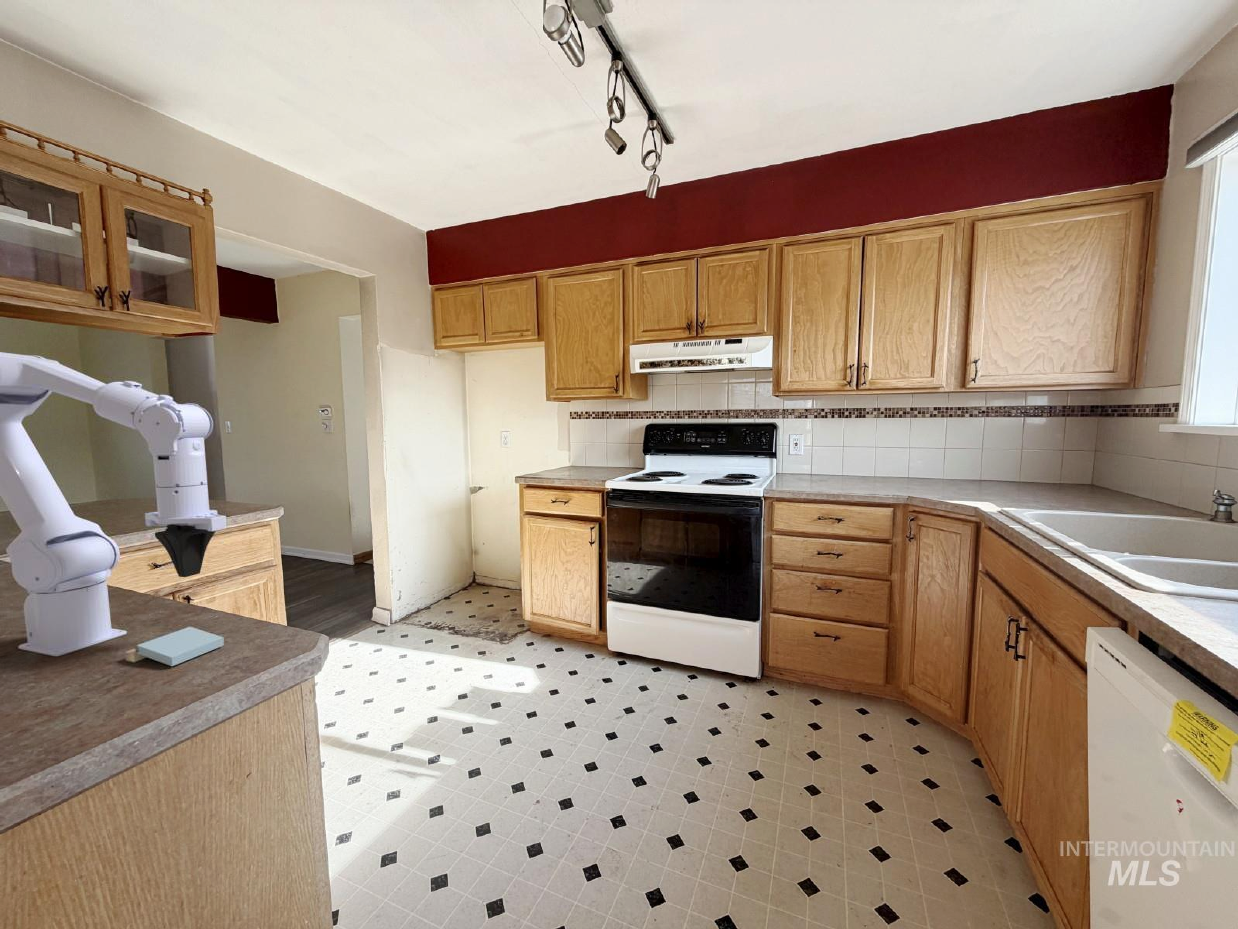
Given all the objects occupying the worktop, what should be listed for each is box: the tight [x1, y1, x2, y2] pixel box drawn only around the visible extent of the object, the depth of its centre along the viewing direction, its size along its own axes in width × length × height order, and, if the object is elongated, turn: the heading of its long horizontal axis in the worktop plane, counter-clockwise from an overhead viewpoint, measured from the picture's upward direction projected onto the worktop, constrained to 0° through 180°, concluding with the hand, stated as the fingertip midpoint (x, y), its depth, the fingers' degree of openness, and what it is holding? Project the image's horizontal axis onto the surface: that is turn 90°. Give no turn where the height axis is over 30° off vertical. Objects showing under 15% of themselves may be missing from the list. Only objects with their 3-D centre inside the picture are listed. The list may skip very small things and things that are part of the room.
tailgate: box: [134, 626, 225, 667], centre depth 69 cm, size 1×6×7 cm
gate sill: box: [124, 648, 148, 663], centre depth 70 cm, size 2×7×1 cm, turn 163°
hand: (189, 575), depth 73 cm, fingers closed
